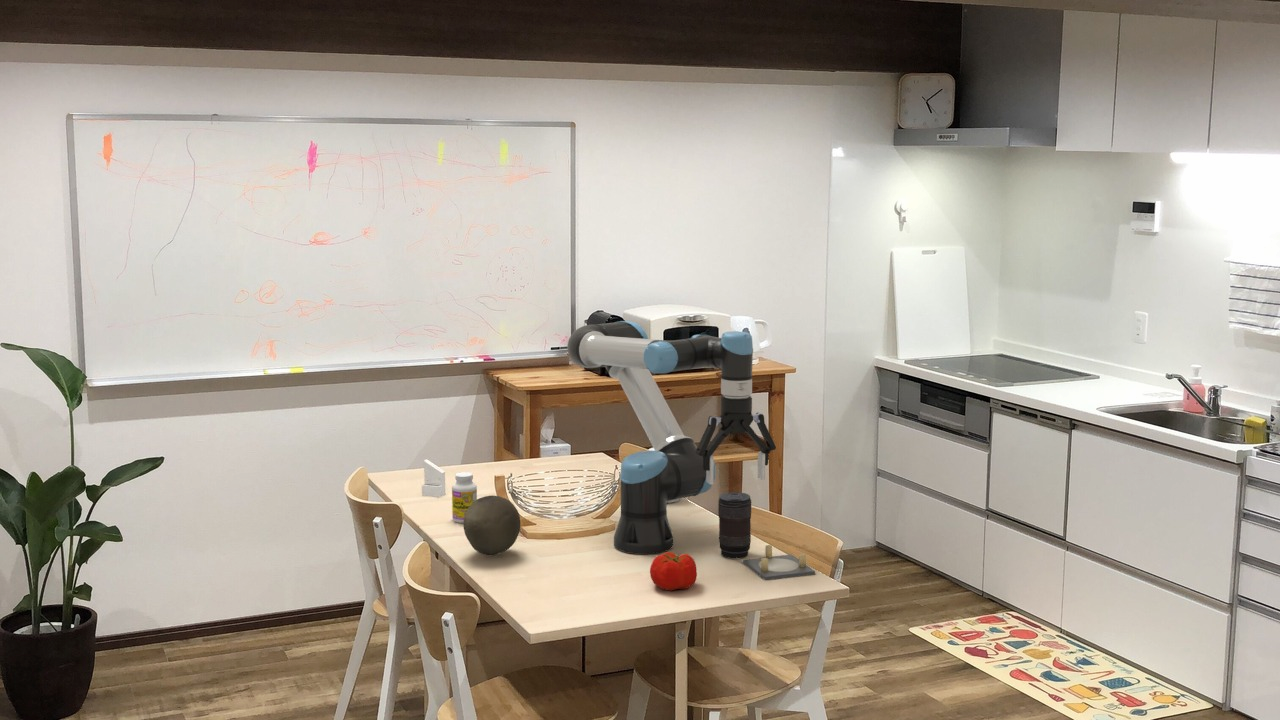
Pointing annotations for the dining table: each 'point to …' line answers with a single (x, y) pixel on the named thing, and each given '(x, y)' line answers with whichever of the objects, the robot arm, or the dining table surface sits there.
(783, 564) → the mount
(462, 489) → the supplement bottle
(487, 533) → the matte black sphere
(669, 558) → the tomato
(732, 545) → the camera lens
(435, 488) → the white wedge bracket
